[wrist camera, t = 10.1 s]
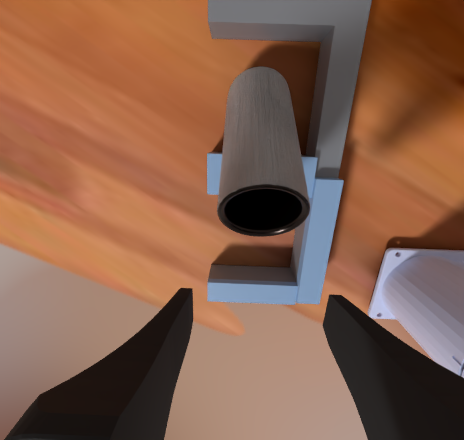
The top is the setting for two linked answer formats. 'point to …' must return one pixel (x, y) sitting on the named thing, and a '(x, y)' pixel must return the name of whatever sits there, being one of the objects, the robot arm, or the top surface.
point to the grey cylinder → (261, 158)
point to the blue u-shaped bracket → (312, 251)
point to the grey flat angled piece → (326, 85)
